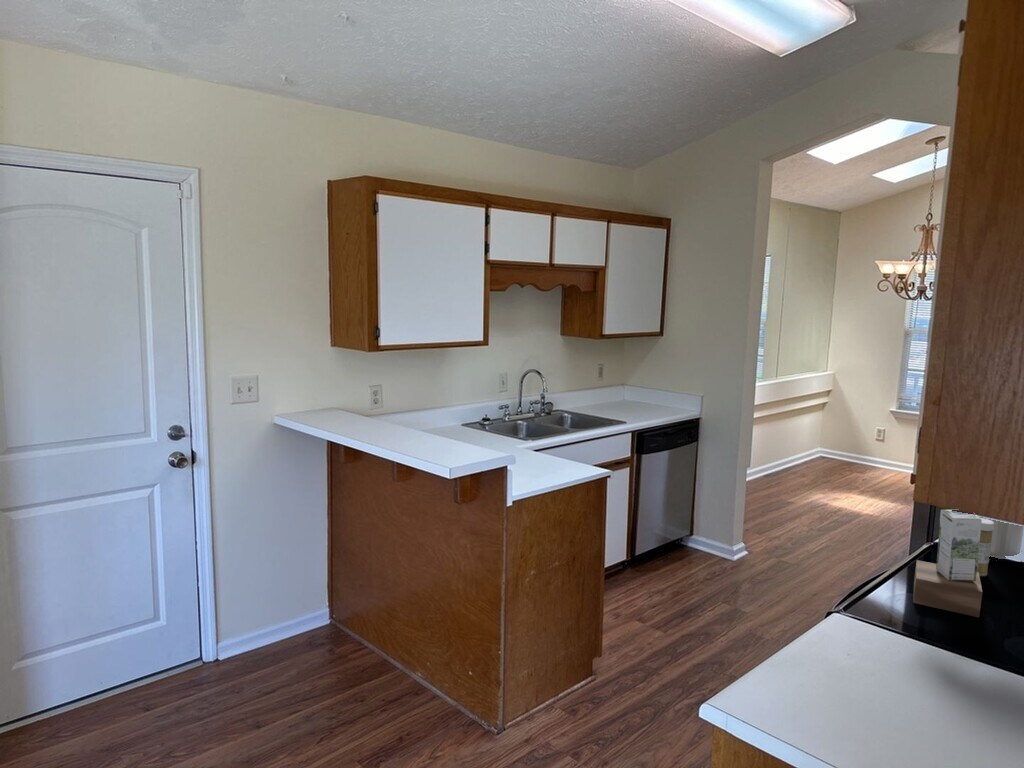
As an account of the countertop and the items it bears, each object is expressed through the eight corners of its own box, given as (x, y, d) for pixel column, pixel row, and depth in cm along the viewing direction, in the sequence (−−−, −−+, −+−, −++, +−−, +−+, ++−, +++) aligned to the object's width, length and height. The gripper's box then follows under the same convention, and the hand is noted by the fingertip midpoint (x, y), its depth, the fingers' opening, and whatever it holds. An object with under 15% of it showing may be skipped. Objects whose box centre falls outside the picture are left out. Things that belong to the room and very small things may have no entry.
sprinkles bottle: (975, 568, 169) (982, 516, 167) (992, 576, 164) (999, 522, 162) (960, 570, 168) (967, 517, 166) (976, 577, 163) (984, 524, 161)
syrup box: (963, 570, 152) (967, 508, 150) (977, 582, 147) (982, 517, 144) (935, 570, 153) (939, 508, 151) (948, 581, 147) (953, 517, 145)
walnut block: (913, 584, 160) (916, 560, 159) (975, 597, 154) (978, 572, 153) (913, 604, 150) (916, 578, 149) (978, 619, 144) (982, 592, 143)
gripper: (1019, 415, 142) (1009, 494, 145) (926, 404, 154) (917, 477, 157) (1012, 421, 137) (1001, 502, 140) (916, 408, 149) (908, 483, 152)
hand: (957, 489), depth 148 cm, fingers open, 9 cm apart
